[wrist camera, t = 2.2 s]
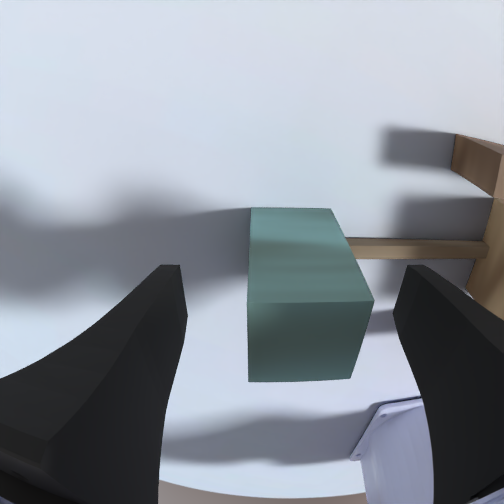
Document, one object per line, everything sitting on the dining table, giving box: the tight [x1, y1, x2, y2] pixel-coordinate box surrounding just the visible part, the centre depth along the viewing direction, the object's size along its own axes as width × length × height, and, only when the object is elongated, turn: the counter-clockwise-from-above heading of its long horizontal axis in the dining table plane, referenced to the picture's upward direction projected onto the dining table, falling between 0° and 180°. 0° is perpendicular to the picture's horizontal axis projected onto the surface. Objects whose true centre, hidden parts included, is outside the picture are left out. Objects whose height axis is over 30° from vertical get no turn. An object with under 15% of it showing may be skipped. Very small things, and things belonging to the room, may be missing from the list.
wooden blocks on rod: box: [247, 198, 504, 382], centre depth 10 cm, size 5×16×6 cm, turn 90°
